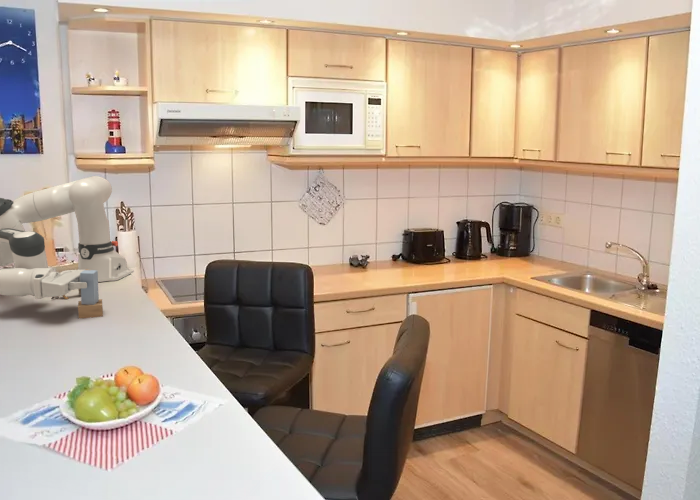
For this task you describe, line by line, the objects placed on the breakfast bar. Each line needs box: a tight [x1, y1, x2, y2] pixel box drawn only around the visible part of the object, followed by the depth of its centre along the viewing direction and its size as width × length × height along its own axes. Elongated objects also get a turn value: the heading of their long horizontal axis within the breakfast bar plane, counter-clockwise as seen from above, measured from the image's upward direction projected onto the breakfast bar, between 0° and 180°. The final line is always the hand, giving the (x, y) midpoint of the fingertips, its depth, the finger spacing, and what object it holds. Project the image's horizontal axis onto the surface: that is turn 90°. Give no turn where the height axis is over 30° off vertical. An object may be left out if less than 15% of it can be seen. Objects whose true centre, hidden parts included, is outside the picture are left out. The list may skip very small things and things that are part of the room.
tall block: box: [80, 270, 100, 305], centre depth 205 cm, size 4×4×10 cm
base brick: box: [77, 298, 104, 319], centre depth 207 cm, size 7×7×4 cm
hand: (91, 282), depth 205 cm, fingers open, 6 cm apart
